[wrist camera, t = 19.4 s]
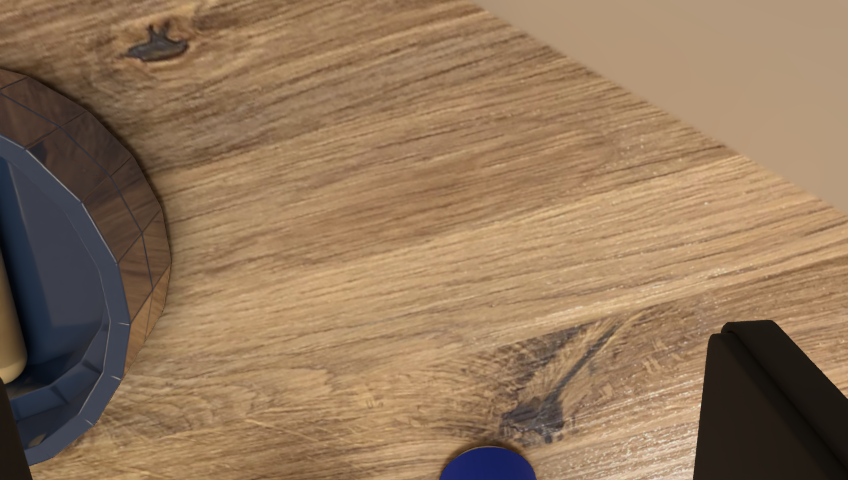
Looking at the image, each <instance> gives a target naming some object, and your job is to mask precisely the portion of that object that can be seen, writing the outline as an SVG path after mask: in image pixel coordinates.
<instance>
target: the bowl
mask: <svg viewBox="0 0 848 480" xmlns="http://www.w3.org/2000/svg"><path fill="white" fill-rule="evenodd" d="M0 248H1V252H2V256H3V260H4V264H5V268H6V272H7V276H8V280H9V283H10V287H11V291H12V295H13V299H14V303H15V307H16V311H17V315H18V318H19V322H20V326H21V330H22V334H23V338H24V342H25V346H26V349H27V356H28V357H27V363H26V366H25V368H24V370H23V371H22V373H21V374H20V375H19V376H18V377H17V378H16V379H14V380H13V381H11V382H9V383H6V384H4V385H5V388H6V391H7V395H8V398H9V401H10V405H11V408H12V412H13V415H14V418H15V422H16V425H17V428H18V432H19V435H20V439H21V442H22V445H23V449H24V452H25V456H26V459H27V462H28V466H31V465H34V464H37V463H40V462H43V461H46V460H48V459H51V458H53V457H54V456H56V455H57V454H58V453H60V452H61V451H62V450H63V449H65V448H66V447H67V446H69V445H70V444H71V443H72V442H74V441H75V440H76V439H78V438H79V437H80V436H81V435H83V434H84V433H85V432H87V431H88V430H89V429H91V428H92V427H93V426H94V425H95V424H96V423H97V421H98V420H99V418H100V416H101V415H102V413H103V411H104V410H105V408H106V406H107V405H108V403H109V401H110V400H111V398H112V396H113V395H114V393H115V391H116V390H117V388H118V386H119V385H120V383H121V381H122V380H123V378H124V376H125V374H126V373H127V371H128V369H129V368H130V366H131V364H132V363H133V361H134V359H135V358H136V356H137V354H138V352H139V351H140V349H141V347H142V346H143V344H144V342H145V341H146V339H147V337H148V335H149V334H150V332H151V330H152V329H153V327H154V325H155V324H156V322H157V320H158V318H159V317H160V315H161V313H162V312H163V309H164V303H165V297H166V291H167V285H168V280H169V274H170V268H171V256H170V251H169V245H168V240H167V234H166V229H165V224H164V218H163V213H162V209H161V206H160V204H159V203H158V201H157V199H156V197H155V195H154V193H153V192H152V190H151V188H150V186H149V184H148V182H147V180H146V179H145V177H144V175H143V173H142V171H141V169H140V168H139V166H138V164H137V162H136V160H135V158H134V157H132V154H131V153H130V152H129V151H128V150H127V149H126V148H125V147H124V146H123V145H122V144H121V143H120V142H119V141H118V140H117V139H116V138H115V137H114V136H113V135H112V134H111V133H110V132H109V131H108V130H107V129H106V128H105V127H104V126H103V125H102V124H101V123H100V122H99V121H98V120H97V119H96V118H95V117H94V116H93V115H92V114H91V113H90V112H89V111H87V110H86V109H85V108H83V107H81V106H80V105H78V104H76V103H74V102H73V101H71V100H69V99H67V98H66V97H64V96H62V95H61V94H59V93H57V92H55V91H54V90H52V89H50V88H48V87H47V86H45V85H43V84H41V83H40V82H38V81H36V80H34V79H33V78H31V77H29V76H26V75H23V74H19V73H15V72H11V71H7V70H3V69H0Z"/></svg>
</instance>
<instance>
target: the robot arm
mask: <svg viewBox="0 0 848 480" xmlns="http://www.w3.org/2000/svg"><path fill="white" fill-rule="evenodd" d="M0 480H33V479H32V476H31V472H30V469H29V466H28V462H27V459H26V456H25V452H24V449H23V445H22V442H21V439H20V435H19V432H18V428H17V425H16V422H15V418H14V415H13V412H12V408H11V405H10V401H9V398H8V395H7V391H6V388H5V385H4V382H3V380H2V379H1V377H0ZM693 480H848V399H847V398H846V397H845V396H844V395H843V394H842V393H841V391H840V390H839V389H838V388H837V387H836V386H835V385H834V384H833V383H832V382H831V381H830V380H829V379H828V378H827V377H826V376H825V375H824V373H823V372H822V371H821V370H820V369H819V368H818V367H817V366H816V365H815V364H814V363H813V362H812V361H811V360H810V359H809V358H808V357H807V355H806V354H805V353H804V352H803V351H802V350H801V349H800V348H799V347H798V346H797V345H796V344H795V343H794V342H793V341H792V340H791V339H790V337H789V336H788V335H787V334H786V333H785V332H784V331H783V330H782V329H781V328H780V327H779V326H778V325H777V324H776V323H775V322H773V321H772V320H758V321H740V322H727V323H726V324H725V325H724V326H723V328H722V330H721V333H719V334H712V335H711V336H710V339H709V342H708V348H707V357H706V366H705V375H704V384H703V393H702V402H701V411H700V420H699V429H698V438H697V448H696V457H695V466H694V475H693Z"/></svg>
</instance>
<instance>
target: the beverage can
mask: <svg viewBox="0 0 848 480" xmlns="http://www.w3.org/2000/svg"><path fill="white" fill-rule="evenodd" d="M439 480H537V479H536V476H535V472H534V470H533V468H532V467H531V465H530V464H529V463H528V462H527V461H526V460H525V459H524V458H523V457H522V456H520V455H519V454H517V453H515V452H513V451H511V450H508V449H505V448H501V447H496V446H480V447H476V448H472V449H470V450H467V451H465V452H463V453H462V454H460V455H459V456H457V457H456V458H455V459H453V460H452V461H451V462H450V463H449V464H448V465H447V466H446V468H445V469H444V471H443V472H442V474H441V476H440V479H439Z"/></svg>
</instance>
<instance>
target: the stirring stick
mask: <svg viewBox="0 0 848 480" xmlns="http://www.w3.org/2000/svg"><path fill="white" fill-rule="evenodd" d="M27 357H28V356H27V349H26V346H25V342H24V338H23V334H22V330H21V326H20V322H19V318H18V315H17V311H16V307H15V303H14V299H13V295H12V291H11V287H10V283H9V280H8V276H7V272H6V268H5V264H4V260H3V256H2V252H1V248H0V377H1V379H2V380H3V382H4V384H6V383H9V382H11V381H13V380H14V379H16V378H17V377H18V376H19V375H20V374H21V373H22V371H23V370H24V368H25V366H26V363H27Z"/></svg>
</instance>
